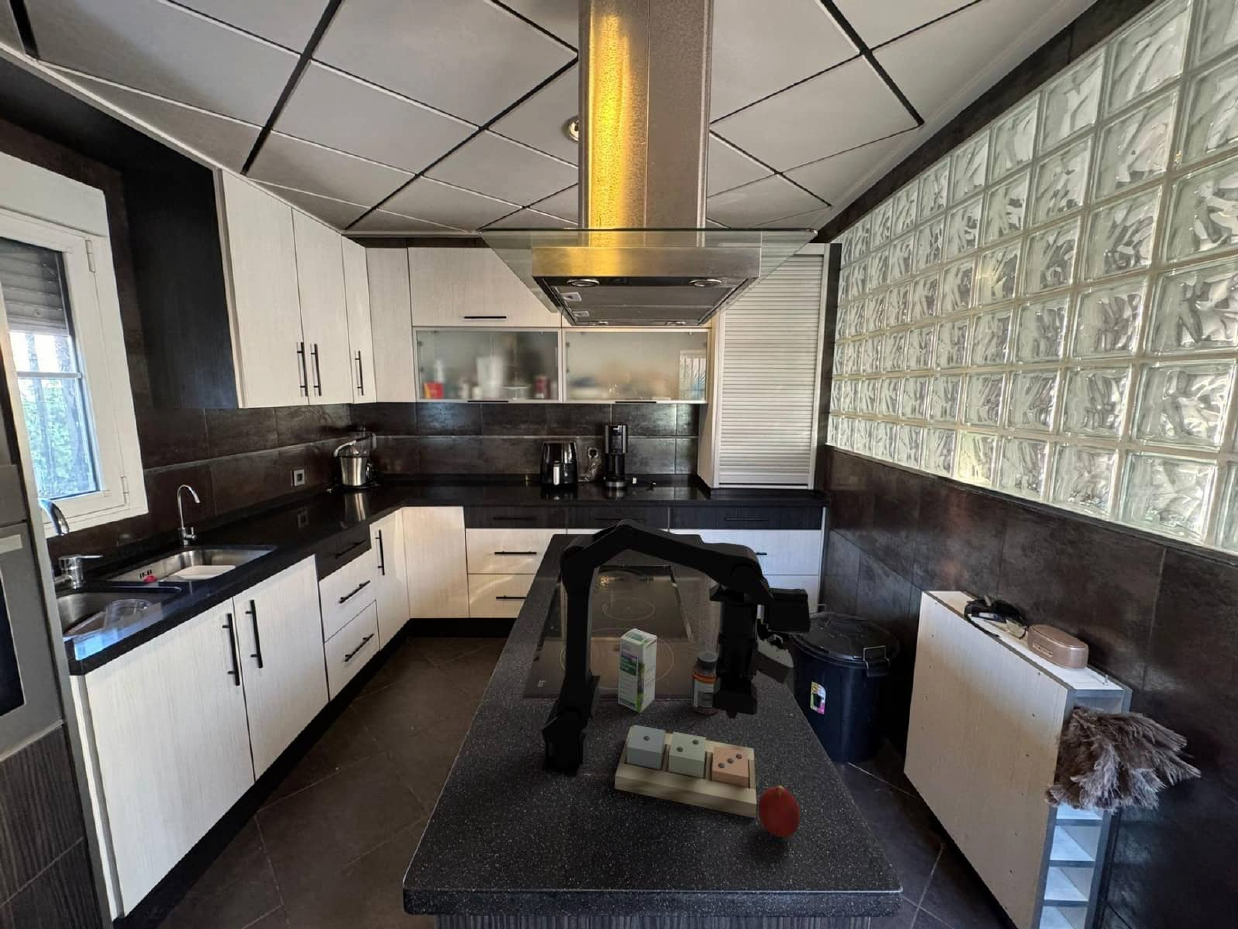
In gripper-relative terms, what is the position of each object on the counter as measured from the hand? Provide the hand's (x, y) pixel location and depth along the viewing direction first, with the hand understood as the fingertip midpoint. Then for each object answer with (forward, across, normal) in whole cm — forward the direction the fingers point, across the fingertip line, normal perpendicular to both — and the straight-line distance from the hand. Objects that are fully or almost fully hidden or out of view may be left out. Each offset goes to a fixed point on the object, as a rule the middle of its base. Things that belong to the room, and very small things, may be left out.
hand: (731, 717), depth 80 cm
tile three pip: (+11, 0, 0) cm, 11 cm away
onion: (+12, -8, -7) cm, 16 cm away
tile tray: (+12, 0, +7) cm, 14 cm away
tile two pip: (+10, 0, +7) cm, 12 cm away
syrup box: (+12, +17, +19) cm, 28 cm away
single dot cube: (+10, 0, +14) cm, 17 cm away
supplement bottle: (+12, +19, +5) cm, 23 cm away
